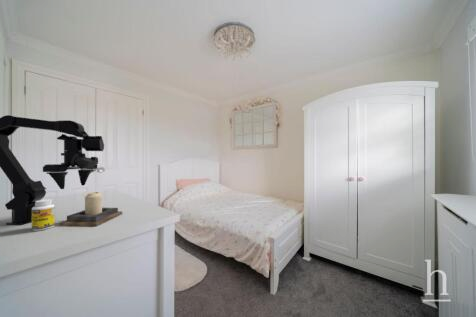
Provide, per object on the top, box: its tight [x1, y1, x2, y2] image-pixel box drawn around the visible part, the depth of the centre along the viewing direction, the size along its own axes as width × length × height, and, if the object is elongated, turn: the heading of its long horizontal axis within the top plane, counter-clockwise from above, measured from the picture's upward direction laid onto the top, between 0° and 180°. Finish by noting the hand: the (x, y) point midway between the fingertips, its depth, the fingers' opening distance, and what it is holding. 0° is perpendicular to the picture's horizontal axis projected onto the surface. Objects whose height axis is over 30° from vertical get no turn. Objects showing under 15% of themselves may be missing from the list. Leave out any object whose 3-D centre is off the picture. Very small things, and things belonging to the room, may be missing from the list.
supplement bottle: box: [31, 198, 56, 232], centre depth 63 cm, size 6×6×10 cm
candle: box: [84, 191, 103, 215], centre depth 73 cm, size 6×6×10 cm
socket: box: [60, 207, 123, 227], centre depth 73 cm, size 14×14×3 cm
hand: (73, 187), depth 75 cm, fingers open, 9 cm apart
